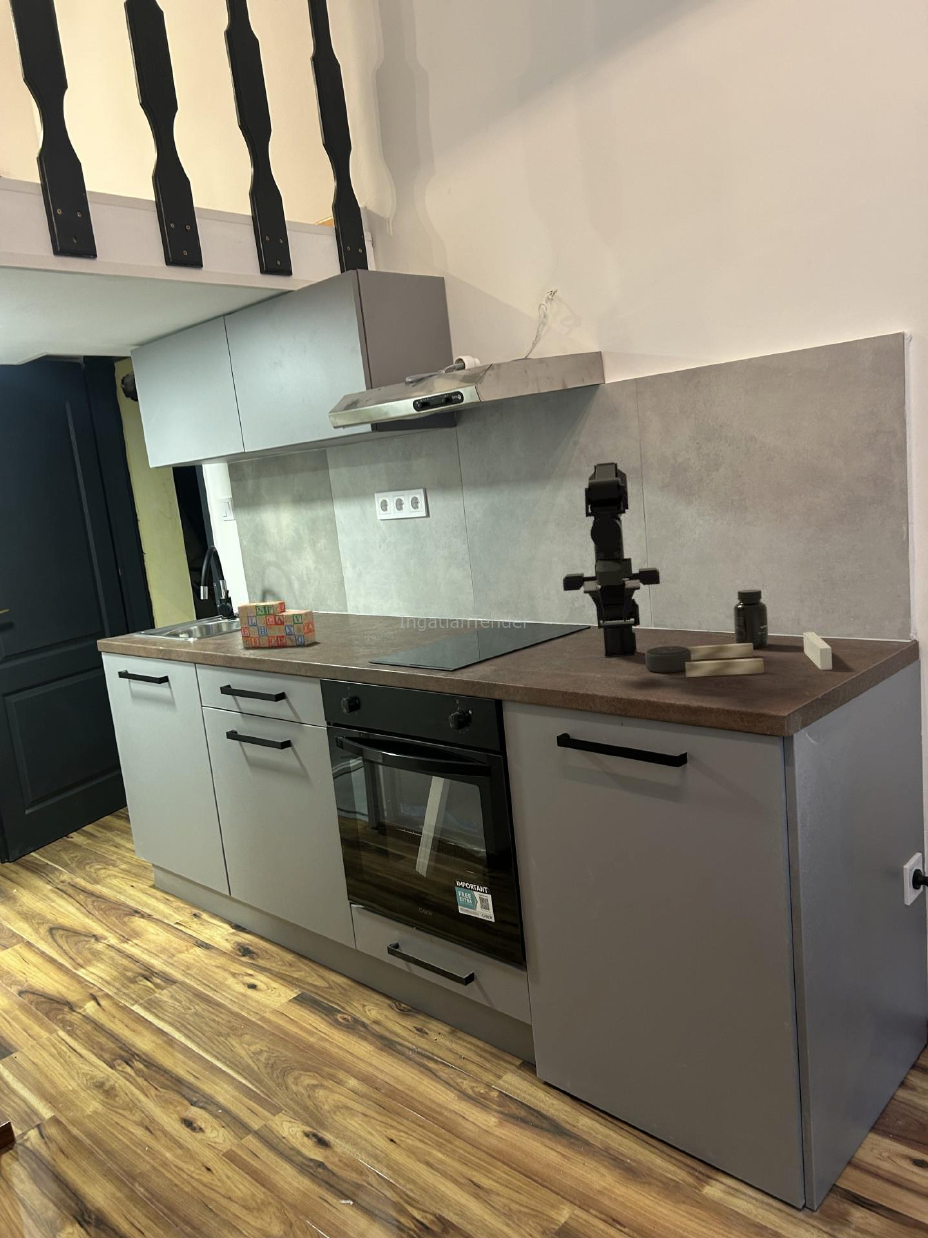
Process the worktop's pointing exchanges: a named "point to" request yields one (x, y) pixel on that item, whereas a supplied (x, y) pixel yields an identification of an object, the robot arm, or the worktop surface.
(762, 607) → the supplement bottle
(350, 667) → the worktop surface
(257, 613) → the stack of blocks
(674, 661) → the smart speaker
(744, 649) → the tunnel walls
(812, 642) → the block
